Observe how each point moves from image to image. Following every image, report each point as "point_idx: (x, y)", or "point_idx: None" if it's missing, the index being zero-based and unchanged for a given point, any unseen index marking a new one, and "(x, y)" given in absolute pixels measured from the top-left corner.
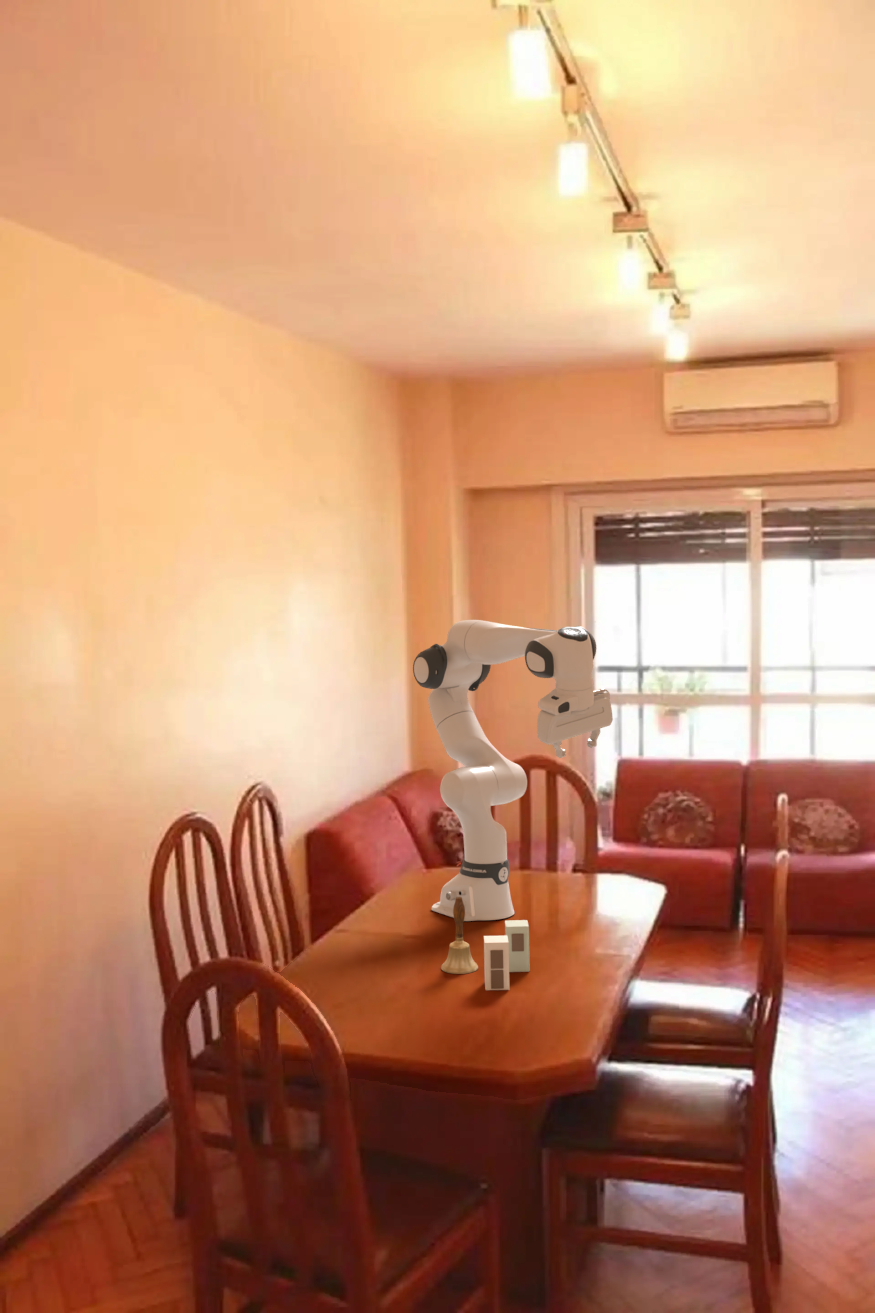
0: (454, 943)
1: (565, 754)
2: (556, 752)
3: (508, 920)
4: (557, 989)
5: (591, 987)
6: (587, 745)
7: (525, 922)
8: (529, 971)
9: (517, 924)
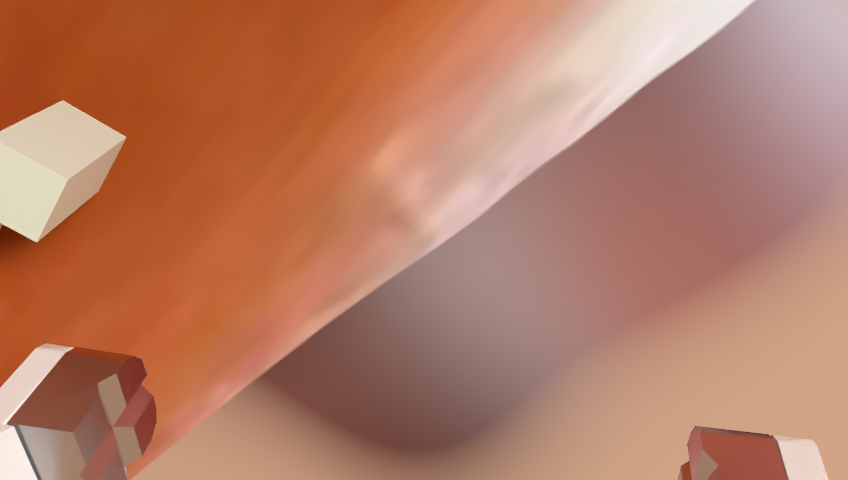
0: None
1: (142, 454)
2: (9, 391)
3: (2, 144)
4: (94, 336)
5: (178, 369)
6: (695, 431)
7: (47, 200)
8: (98, 190)
9: (9, 204)
